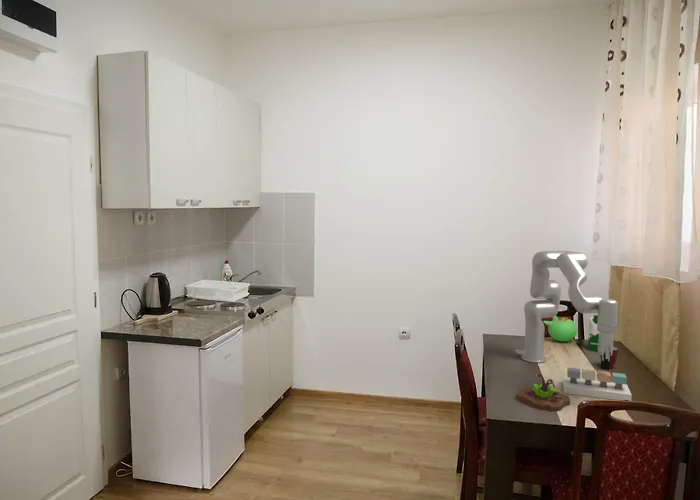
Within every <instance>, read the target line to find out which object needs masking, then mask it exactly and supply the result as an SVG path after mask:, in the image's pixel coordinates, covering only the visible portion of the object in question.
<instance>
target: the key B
mask: <svg viewBox="0 0 700 500" xmlns="http://www.w3.org/2000/svg"><path fill="white" fill-rule="evenodd" d="M581 378H582V379H585V385H591V382H592V380H593V381H595V380H596V378H597V373H596V371H595V369H593V370H592V369H584V368H582V369H581Z"/></svg>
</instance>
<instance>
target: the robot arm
mask: <svg viewBox="0 0 700 500" xmlns="http://www.w3.org/2000/svg"><path fill="white" fill-rule="evenodd" d="M531 261H532V262H531V267H532V268H531V269H532V273H531V278H530V279H531V280H530V287H529V293H530V297H532V298H533V299H535V300H533V299H532V300H529V301H527V302H526V303H525V304H524V306H523V310H524V319H525V330H524V348H523V349H518V348H517V349H515V354H517V355H521V356H520V359H522V360H523V361H525V362H529V363H537V364H538V363H540V364H541V363H544V362H547V357H546V356H545V355H544V350H545V349H544V347H545V330H546V329H545V325H544V324H545V323H543V320H542V319H549V318H553V317H554V316H557V315H558V313H559V307H560V302H561V296H562V288H561V285H560V283H559V282H558V281H557V280H554V279H550V276H551V275H550V270H549V269H552V268H553V269H555V268H556V269H558V268H559V270H560V271H561V273H562V274H563V276H564V278H565V279H566V281H567V282H568V284H569V285H568V290H567V291H568V299H569V301H570V303H571V305H572V306H573V307H574V308H575V310H576V311H577V312H579V313H580V314H585V315H586V314H597V315H598V322H597V331H599V339H598V352H597V353H598V354H599V355H601V354H602V358H601V357H600V369H601V371H602V370H603V371H610V368H609V366H610V361H609V360H610V356H611V355H612V353H613V347H614V335H615V334H617V331H618V330H617V329H618V313H619V312H618V309H619V303H618V301H617V300H615V299H610V298H607V297H605V296H602V295H593V296H592V295H589V296H587V295H586V296H584V295H583V293H582V291H581V290H580V288H579V287H580V286H582V285H583V284H584V283H586V281H587V280H588V275H587V273H586V272H585V270H584V269H586V268H587V266H588V258H587V256H586V255H585V254H584V253H582V252H579V251H578V252H577V251H569V250H544V251H543V250H541V251H538V252H536V253H535V254H534V255H533V257H532V259H531Z"/></svg>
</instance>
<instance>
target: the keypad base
mask: <svg viewBox="0 0 700 500" xmlns="http://www.w3.org/2000/svg"><path fill="white" fill-rule="evenodd" d="M562 388H563V389H562V390H563V394H569V395H570V394H571V395H577V396H584V397H591V398H598V399H606V400H614V401H620V400H629V401H631V402H632V396H633V394H632V393H631V390H630V388H629V386H628V384H626V385H625V384H622V389H616V388H615V383H613V381H611V383H609V382H607V388H606V387H600V381H598V380H597V379H595V381H593V380H592V382H591V385H585V379H582V377H580V379H577V381H576V384H575V383H570V378H569V377H568V376H566V375H563V376H562Z"/></svg>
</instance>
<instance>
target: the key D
mask: <svg viewBox="0 0 700 500" xmlns="http://www.w3.org/2000/svg"><path fill="white" fill-rule="evenodd" d="M627 381H628V377H627V376H626V373H620V372H611V382H613V383H615V388H616V389H622V384H625V385H626V384H627V383H628V382H627ZM627 385H628V384H627Z"/></svg>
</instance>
